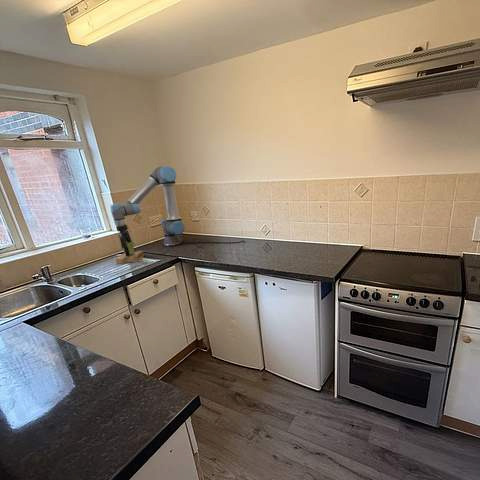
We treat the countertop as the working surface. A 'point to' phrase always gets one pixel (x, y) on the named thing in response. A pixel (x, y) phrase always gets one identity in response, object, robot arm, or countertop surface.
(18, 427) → the countertop surface
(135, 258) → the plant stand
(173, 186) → the robot arm
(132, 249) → the plant pot
